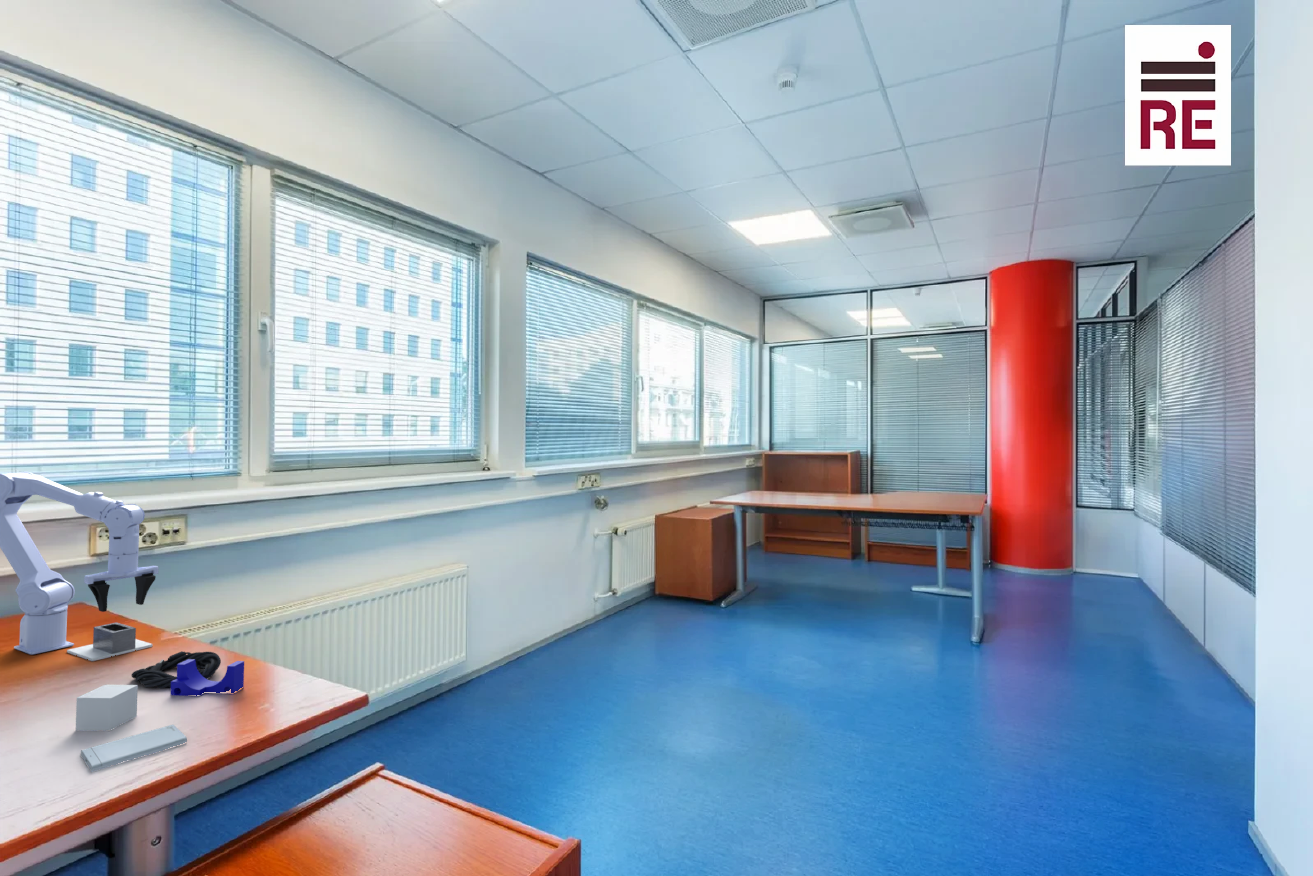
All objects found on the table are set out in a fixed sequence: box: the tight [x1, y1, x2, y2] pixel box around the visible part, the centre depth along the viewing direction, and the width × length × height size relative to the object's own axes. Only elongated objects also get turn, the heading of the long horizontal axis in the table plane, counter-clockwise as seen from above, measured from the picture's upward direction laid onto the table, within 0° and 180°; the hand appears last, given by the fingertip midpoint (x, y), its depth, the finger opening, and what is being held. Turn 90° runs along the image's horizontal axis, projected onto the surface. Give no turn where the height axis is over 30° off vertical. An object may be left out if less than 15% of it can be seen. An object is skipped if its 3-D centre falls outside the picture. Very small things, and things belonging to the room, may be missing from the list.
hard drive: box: [80, 724, 188, 773], centre depth 105 cm, size 2×8×12 cm
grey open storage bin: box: [92, 622, 137, 654], centre depth 151 cm, size 9×5×5 cm, turn 64°
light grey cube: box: [75, 684, 139, 732], centre depth 114 cm, size 6×6×6 cm
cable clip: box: [170, 659, 245, 697], centre depth 129 cm, size 12×4×6 cm, turn 89°
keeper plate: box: [66, 638, 153, 662], centre depth 152 cm, size 12×12×4 cm
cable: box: [131, 651, 221, 689], centre depth 136 cm, size 17×14×4 cm
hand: (121, 607), depth 155 cm, fingers open, 7 cm apart
